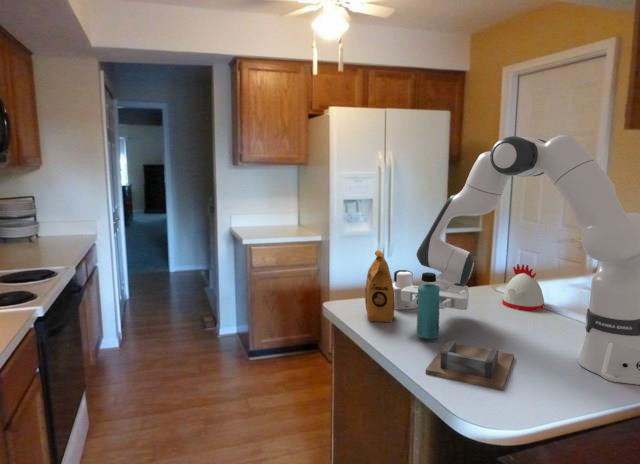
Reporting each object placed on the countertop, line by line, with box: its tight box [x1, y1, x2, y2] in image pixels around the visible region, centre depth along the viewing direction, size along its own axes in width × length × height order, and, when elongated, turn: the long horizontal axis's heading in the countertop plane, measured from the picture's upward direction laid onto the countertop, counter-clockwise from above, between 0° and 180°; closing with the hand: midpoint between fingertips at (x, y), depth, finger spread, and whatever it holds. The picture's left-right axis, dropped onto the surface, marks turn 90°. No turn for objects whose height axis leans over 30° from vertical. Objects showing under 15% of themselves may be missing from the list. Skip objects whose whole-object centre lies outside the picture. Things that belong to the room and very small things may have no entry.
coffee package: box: [364, 249, 395, 323], centre depth 155 cm, size 10×12×22 cm
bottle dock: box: [425, 339, 515, 391], centre depth 119 cm, size 18×20×5 cm
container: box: [392, 269, 417, 310], centre depth 167 cm, size 8×8×13 cm
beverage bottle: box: [416, 271, 440, 339], centre depth 135 cm, size 6×7×20 cm
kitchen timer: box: [501, 263, 545, 312], centre depth 168 cm, size 14×14×15 cm
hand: (427, 304), depth 135 cm, fingers closed on beverage bottle, 6 cm apart
